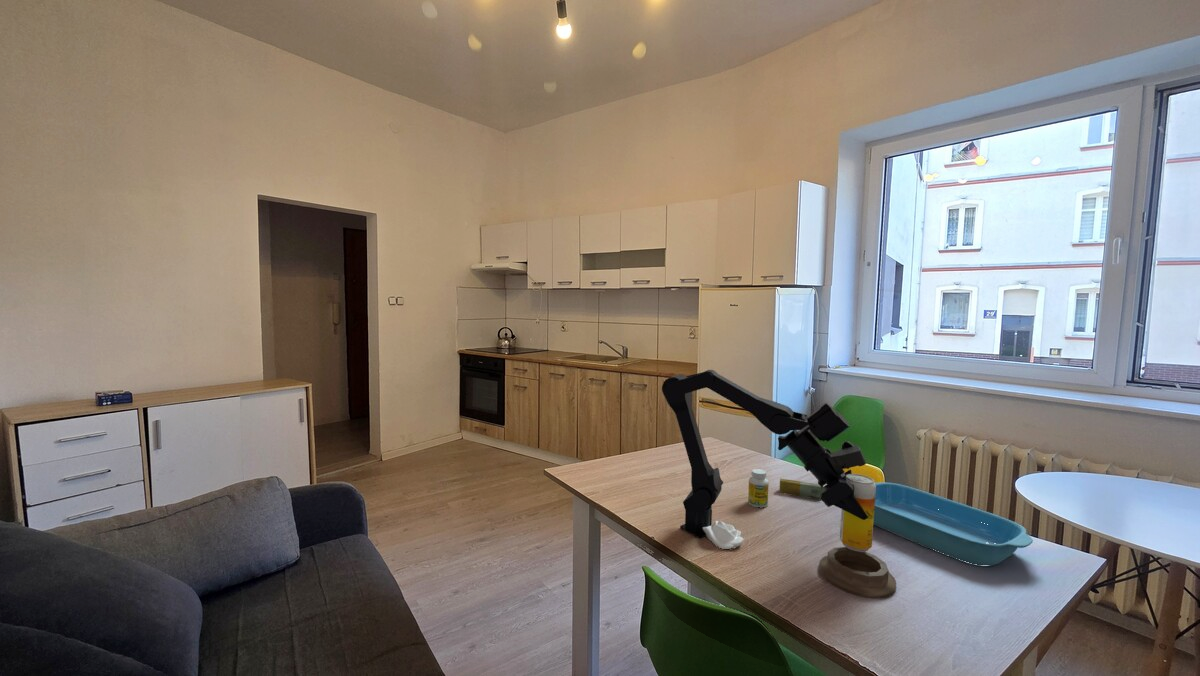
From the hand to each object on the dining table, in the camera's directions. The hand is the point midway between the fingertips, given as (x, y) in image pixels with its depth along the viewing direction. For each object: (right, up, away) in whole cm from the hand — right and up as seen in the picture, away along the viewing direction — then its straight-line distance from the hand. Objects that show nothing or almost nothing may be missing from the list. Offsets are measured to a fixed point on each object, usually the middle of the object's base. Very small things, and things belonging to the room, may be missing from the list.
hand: (864, 512), depth 99 cm
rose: (-28, -11, +12) cm, 32 cm away
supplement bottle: (-12, -10, +33) cm, 36 cm away
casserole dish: (+26, -12, +17) cm, 33 cm away
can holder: (-3, -12, -3) cm, 13 cm away
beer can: (-1, -8, +1) cm, 8 cm away
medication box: (+4, -10, +40) cm, 41 cm away
